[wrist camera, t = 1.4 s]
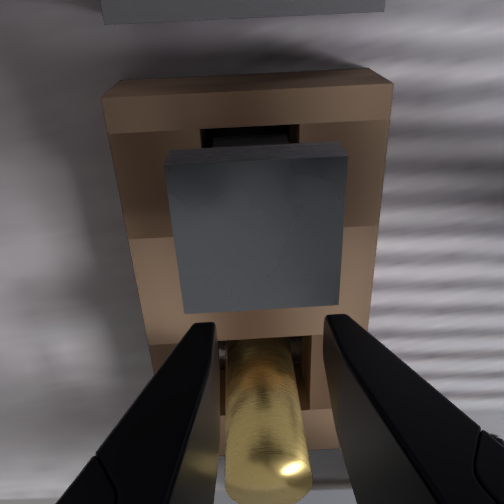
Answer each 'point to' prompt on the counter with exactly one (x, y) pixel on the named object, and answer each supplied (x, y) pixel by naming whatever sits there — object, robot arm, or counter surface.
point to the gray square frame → (226, 9)
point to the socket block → (194, 136)
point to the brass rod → (264, 424)
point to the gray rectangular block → (257, 223)
